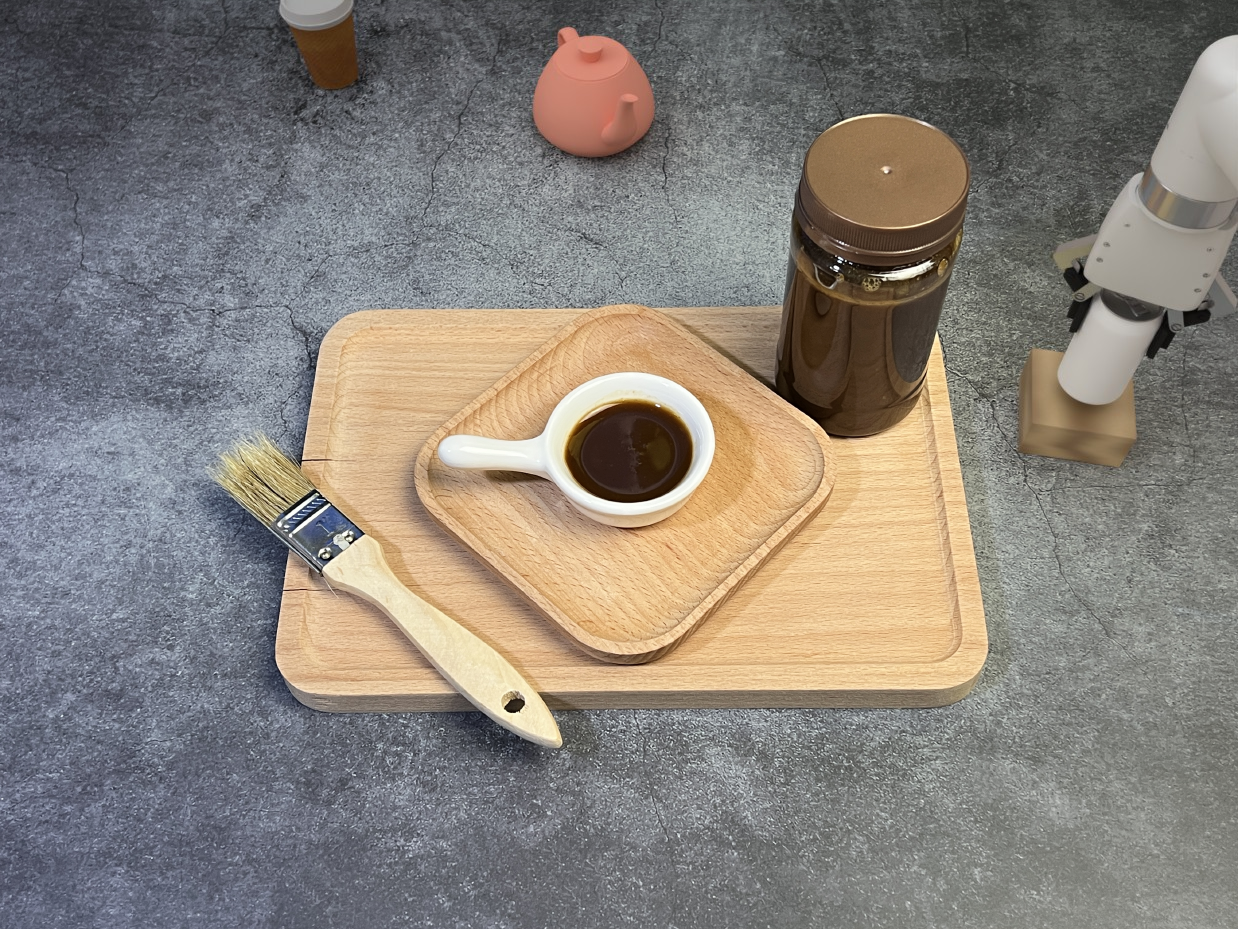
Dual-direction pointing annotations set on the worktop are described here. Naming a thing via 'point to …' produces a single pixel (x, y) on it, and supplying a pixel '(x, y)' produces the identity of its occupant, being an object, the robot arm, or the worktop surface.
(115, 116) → the worktop surface
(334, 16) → the disposable coffee cup
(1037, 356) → the block
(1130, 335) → the can
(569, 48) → the teapot
